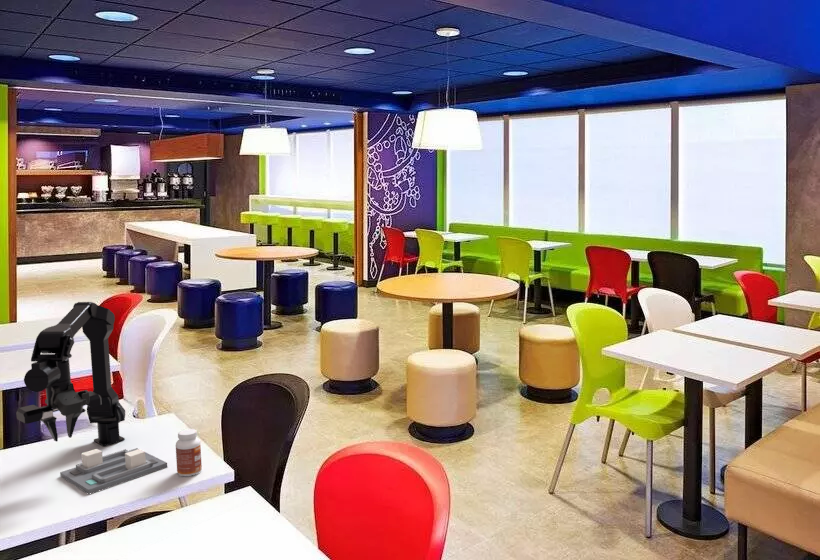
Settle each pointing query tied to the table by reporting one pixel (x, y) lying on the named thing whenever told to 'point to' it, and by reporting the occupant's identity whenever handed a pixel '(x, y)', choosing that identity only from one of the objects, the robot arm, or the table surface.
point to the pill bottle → (188, 453)
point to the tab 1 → (92, 458)
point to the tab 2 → (135, 458)
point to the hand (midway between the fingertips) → (63, 439)
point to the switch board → (110, 472)
